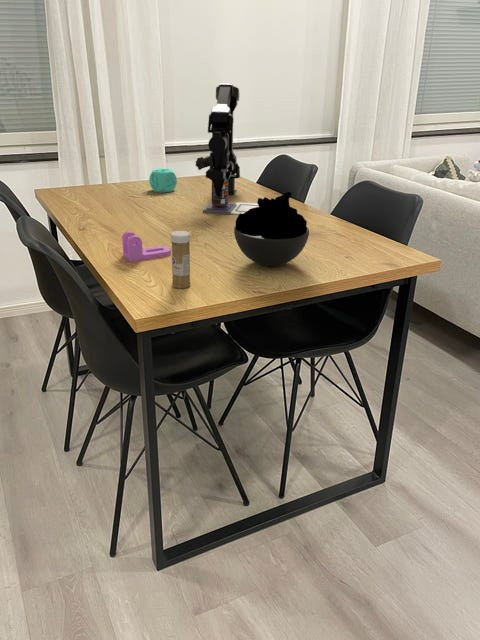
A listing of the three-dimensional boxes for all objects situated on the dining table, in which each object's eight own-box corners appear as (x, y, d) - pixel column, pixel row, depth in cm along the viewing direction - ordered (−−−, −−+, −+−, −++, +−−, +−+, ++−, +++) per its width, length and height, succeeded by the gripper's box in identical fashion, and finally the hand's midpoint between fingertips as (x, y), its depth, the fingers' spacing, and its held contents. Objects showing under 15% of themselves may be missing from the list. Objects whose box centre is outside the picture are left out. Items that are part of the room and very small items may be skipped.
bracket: (130, 262, 158) (128, 237, 155) (123, 256, 163) (121, 232, 160) (174, 255, 164) (173, 231, 161) (166, 249, 169) (165, 226, 166)
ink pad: (210, 205, 216) (210, 201, 215) (236, 206, 214) (236, 203, 214) (202, 212, 206) (202, 208, 206) (230, 214, 205) (230, 210, 204)
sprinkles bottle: (168, 285, 143) (166, 232, 137) (182, 280, 146) (180, 229, 140) (181, 290, 140) (179, 237, 135) (194, 285, 144) (194, 232, 138)
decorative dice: (177, 190, 237) (176, 170, 233) (162, 193, 231) (161, 173, 228) (164, 187, 241) (163, 167, 238) (149, 190, 236) (148, 170, 233)
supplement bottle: (227, 207, 207) (228, 175, 202) (211, 206, 207) (211, 174, 202) (228, 203, 212) (228, 171, 207) (212, 202, 212) (212, 171, 207)
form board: (236, 203, 219) (236, 201, 219) (273, 205, 217) (273, 204, 217) (227, 213, 205) (227, 212, 205) (267, 216, 203) (267, 215, 203)
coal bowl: (252, 281, 147) (254, 208, 139) (222, 256, 163) (222, 190, 155) (320, 271, 154) (326, 201, 146) (285, 249, 171) (289, 185, 163)
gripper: (204, 143, 211) (204, 186, 217) (190, 152, 194) (191, 198, 201) (234, 145, 209) (233, 188, 216) (223, 153, 192) (222, 200, 199)
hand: (220, 193), depth 208 cm, fingers closed on supplement bottle, 6 cm apart
